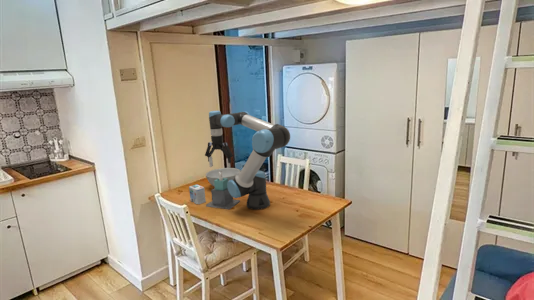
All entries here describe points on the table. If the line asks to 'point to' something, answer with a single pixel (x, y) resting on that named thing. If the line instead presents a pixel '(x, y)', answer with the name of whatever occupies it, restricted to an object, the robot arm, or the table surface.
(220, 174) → the steel shaft
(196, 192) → the light bulb box
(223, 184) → the sleeve
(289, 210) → the table surface
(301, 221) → the table surface
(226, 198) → the bearing block
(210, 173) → the decorative bowl
